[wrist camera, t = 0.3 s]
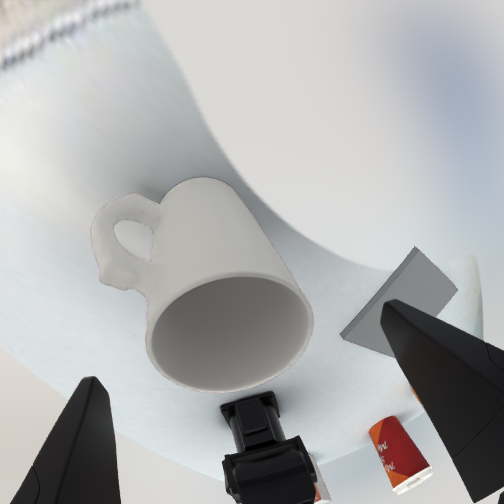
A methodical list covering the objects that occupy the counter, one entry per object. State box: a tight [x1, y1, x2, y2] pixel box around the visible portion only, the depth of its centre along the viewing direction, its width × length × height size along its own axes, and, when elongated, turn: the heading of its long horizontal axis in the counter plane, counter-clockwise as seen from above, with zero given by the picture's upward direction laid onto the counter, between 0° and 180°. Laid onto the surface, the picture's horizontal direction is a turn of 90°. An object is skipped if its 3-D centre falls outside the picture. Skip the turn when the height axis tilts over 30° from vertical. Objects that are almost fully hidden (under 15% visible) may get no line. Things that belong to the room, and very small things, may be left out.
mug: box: [90, 177, 314, 393], centre depth 16 cm, size 10×7×12 cm, turn 54°
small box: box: [308, 454, 331, 504], centre depth 45 cm, size 8×6×10 cm
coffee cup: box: [369, 416, 433, 494], centre depth 45 cm, size 8×8×15 cm
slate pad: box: [340, 247, 458, 358], centre depth 33 cm, size 12×12×1 cm
